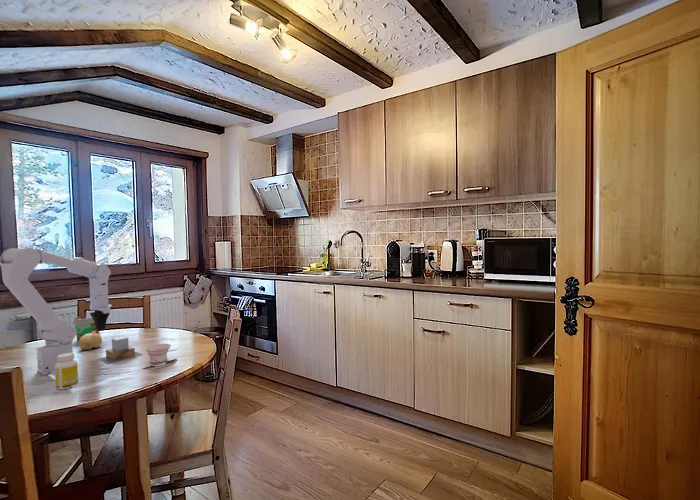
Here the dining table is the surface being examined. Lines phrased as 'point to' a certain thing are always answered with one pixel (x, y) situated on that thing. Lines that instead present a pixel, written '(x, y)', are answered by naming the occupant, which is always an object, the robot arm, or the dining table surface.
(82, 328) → the food container
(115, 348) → the gray cube
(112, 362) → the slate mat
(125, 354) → the walnut slab
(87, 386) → the dining table surface
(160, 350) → the teacup
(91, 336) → the tan round lump
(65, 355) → the supplement bottle
